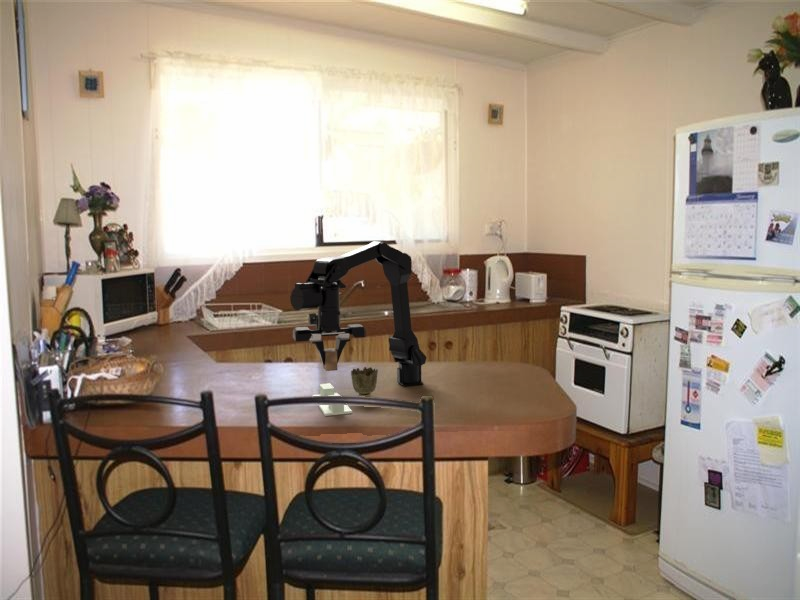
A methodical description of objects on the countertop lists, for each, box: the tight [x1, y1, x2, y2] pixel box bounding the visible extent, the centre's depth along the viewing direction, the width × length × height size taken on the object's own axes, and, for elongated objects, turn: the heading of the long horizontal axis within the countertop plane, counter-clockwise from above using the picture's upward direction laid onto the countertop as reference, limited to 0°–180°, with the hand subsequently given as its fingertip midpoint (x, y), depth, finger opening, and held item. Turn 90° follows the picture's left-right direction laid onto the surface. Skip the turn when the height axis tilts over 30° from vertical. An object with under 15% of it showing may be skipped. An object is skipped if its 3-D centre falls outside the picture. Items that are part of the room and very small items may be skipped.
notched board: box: [312, 382, 353, 417], centre depth 170 cm, size 7×18×4 cm, turn 18°
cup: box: [350, 366, 379, 397], centre depth 175 cm, size 8×7×8 cm
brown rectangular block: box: [322, 347, 338, 372], centre depth 168 cm, size 3×4×5 cm, turn 17°
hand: (330, 364), depth 169 cm, fingers closed on brown rectangular block, 3 cm apart
